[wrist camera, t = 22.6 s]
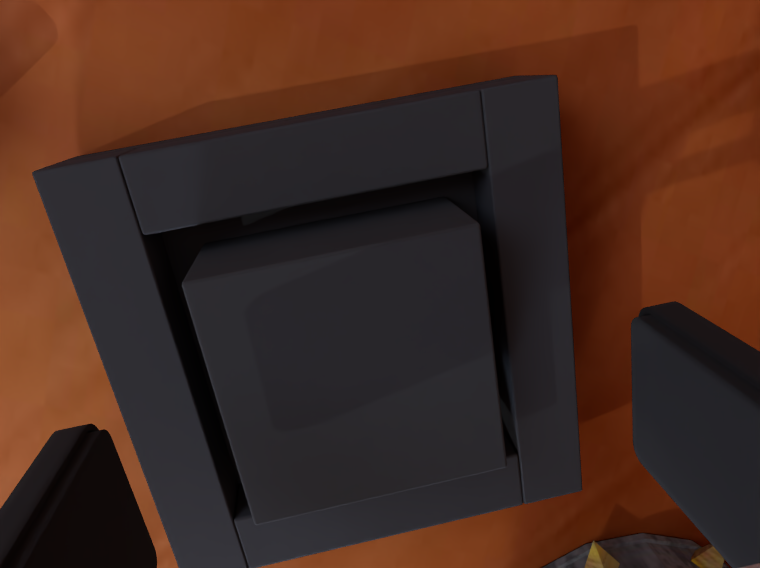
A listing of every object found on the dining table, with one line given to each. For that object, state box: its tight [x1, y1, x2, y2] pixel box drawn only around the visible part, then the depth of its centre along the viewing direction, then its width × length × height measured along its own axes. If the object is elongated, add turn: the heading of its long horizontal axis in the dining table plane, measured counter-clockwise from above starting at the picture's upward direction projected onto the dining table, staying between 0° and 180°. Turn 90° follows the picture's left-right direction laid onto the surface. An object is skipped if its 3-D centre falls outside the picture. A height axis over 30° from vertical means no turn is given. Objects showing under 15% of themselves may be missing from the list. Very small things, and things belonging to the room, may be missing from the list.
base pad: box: [32, 75, 582, 568], centre depth 15 cm, size 11×11×2 cm
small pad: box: [182, 197, 507, 525], centre depth 14 cm, size 6×6×3 cm
